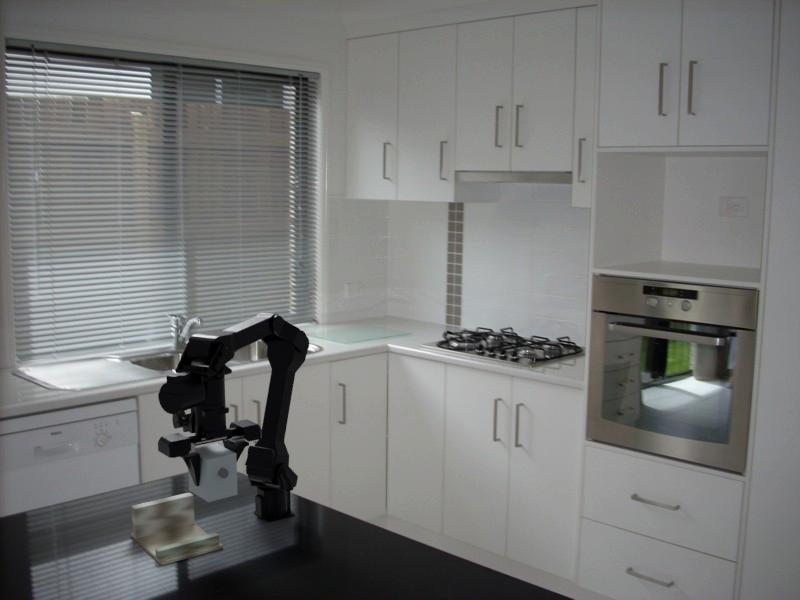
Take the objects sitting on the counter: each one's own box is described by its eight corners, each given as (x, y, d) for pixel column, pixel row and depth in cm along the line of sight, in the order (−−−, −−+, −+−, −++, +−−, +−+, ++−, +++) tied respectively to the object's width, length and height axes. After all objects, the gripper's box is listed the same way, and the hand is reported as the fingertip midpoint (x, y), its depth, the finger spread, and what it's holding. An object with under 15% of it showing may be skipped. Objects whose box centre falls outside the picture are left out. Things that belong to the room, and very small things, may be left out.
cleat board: (188, 521, 175) (187, 490, 174) (222, 548, 163) (221, 515, 162) (130, 536, 168) (129, 504, 167) (162, 565, 155) (160, 530, 154)
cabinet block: (217, 483, 166) (216, 443, 165) (240, 496, 159) (238, 454, 158) (189, 490, 162) (187, 449, 161) (210, 503, 156) (209, 461, 154)
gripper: (234, 385, 171) (236, 460, 173) (144, 400, 159) (147, 481, 161) (262, 396, 162) (264, 475, 164) (169, 413, 151) (172, 498, 153)
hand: (212, 481), depth 161 cm, fingers closed on cabinet block, 6 cm apart
